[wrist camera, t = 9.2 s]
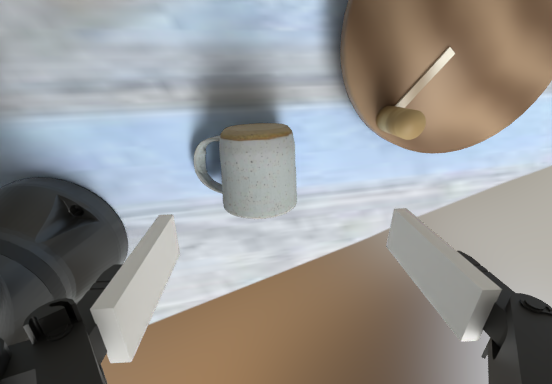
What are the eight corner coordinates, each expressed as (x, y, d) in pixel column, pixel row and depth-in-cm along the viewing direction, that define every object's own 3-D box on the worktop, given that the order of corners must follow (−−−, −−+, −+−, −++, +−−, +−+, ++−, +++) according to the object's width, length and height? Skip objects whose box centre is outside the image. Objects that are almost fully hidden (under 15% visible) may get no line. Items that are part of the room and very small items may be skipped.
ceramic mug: (289, 117, 27) (300, 130, 20) (292, 188, 31) (301, 219, 24) (190, 124, 27) (166, 139, 20) (203, 194, 30) (186, 228, 23)
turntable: (487, -205, 18) (584, -325, 13) (601, 22, 24) (698, 5, 19) (293, 55, 23) (304, 48, 18) (428, 184, 30) (466, 207, 25)
